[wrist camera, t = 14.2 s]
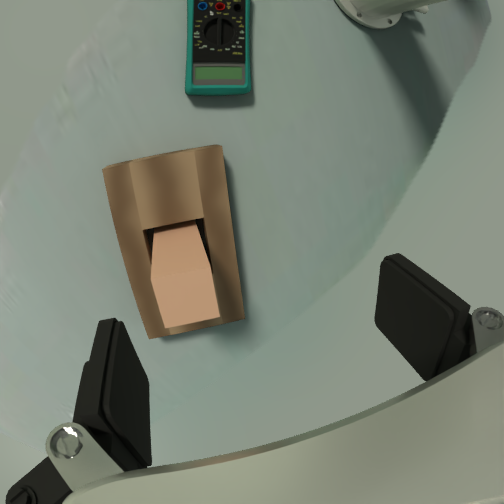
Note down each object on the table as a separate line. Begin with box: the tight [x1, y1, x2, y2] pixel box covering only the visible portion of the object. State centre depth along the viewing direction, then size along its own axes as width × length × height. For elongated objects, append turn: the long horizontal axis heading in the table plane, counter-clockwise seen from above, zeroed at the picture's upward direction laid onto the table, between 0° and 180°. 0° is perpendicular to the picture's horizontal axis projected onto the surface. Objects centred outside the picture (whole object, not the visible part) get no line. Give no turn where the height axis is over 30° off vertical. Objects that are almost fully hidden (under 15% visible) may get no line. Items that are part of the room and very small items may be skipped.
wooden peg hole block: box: [102, 145, 245, 339], centre depth 37 cm, size 13×22×4 cm, turn 6°
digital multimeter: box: [185, 0, 251, 96], centre depth 29 cm, size 7×15×3 cm, turn 0°
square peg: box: [151, 219, 220, 328], centre depth 32 cm, size 5×5×14 cm
